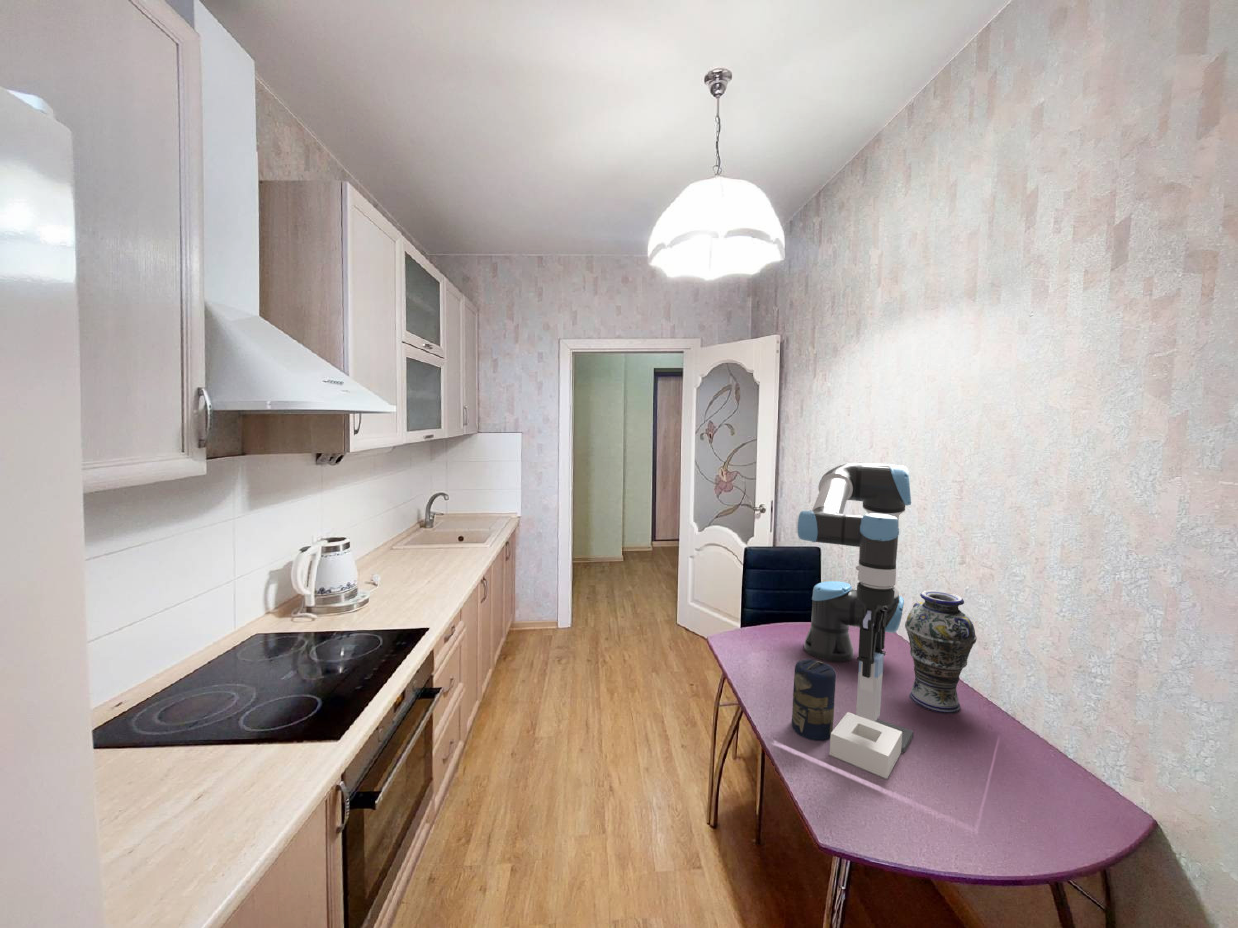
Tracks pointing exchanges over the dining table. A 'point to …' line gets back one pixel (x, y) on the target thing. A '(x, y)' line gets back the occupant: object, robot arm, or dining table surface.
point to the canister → (813, 699)
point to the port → (866, 744)
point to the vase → (938, 649)
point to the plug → (871, 693)
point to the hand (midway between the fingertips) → (869, 685)
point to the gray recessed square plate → (906, 733)
